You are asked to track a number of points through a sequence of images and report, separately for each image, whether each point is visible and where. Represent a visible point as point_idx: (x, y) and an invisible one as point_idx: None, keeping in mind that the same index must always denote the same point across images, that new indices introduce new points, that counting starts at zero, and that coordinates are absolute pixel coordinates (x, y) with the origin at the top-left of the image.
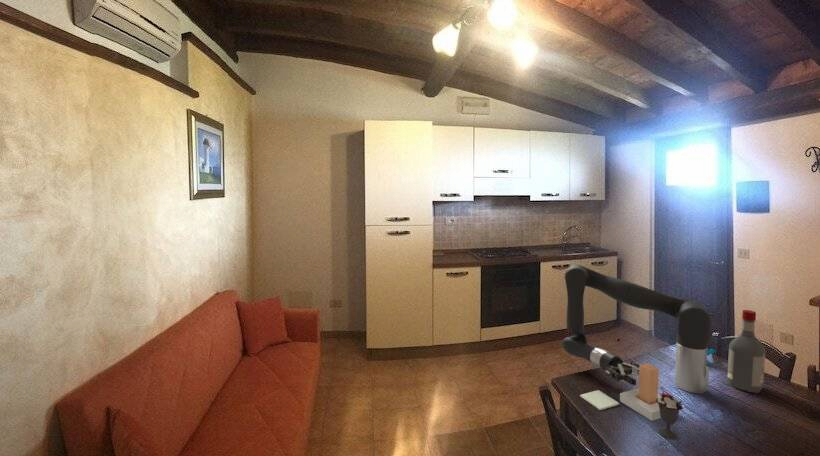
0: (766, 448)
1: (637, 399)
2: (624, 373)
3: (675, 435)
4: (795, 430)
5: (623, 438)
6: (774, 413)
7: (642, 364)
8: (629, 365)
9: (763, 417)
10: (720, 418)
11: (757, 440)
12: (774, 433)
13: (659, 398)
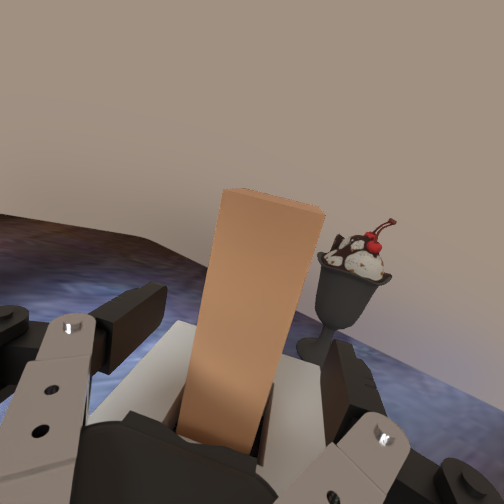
0: (193, 261)
1: (287, 439)
2: (359, 429)
3: (311, 339)
4: (90, 235)
5: (493, 434)
6: (21, 235)
7: (289, 205)
8: (56, 437)
9: (57, 246)
10: (121, 286)
11: (175, 263)
12: (125, 249)
13: (382, 264)
